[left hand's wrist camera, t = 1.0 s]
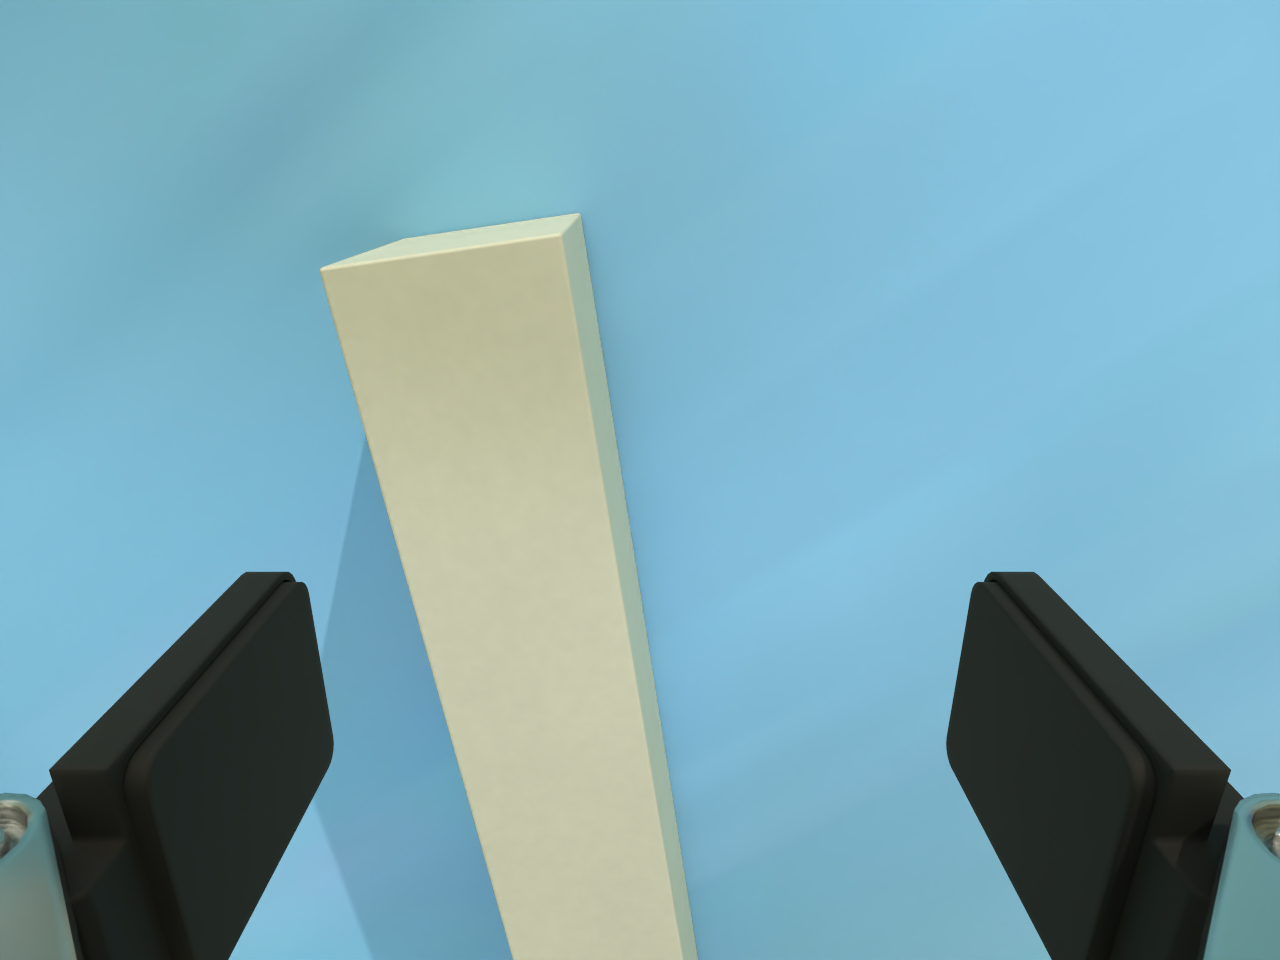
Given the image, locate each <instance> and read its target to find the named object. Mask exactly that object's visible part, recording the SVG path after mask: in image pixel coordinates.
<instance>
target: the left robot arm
mask: <svg viewBox="0 0 1280 960" xmlns="http://www.w3.org/2000/svg"><path fill="white" fill-rule="evenodd" d="M333 746H334V741H333V733H332V727H331V721H330V715H329V710H328V704H327V698H326V692H325V686H324V680H323V674H322V668H321V662H320V656H319V651H318V645H317V639H316V633H315V627H314V621H313V615H312V609H311V603H310V597H309V592H308V588H307V586H306V585H305V584H304V583H303V582H296V580H295V578H294V577H293V575H292V574H291V573H289V572H246V573H244V574H243V575H241V576H240V577H239V578H238V579H237V580H236V581H235V582H234V583H233V584H232V585H231V586H230V587H229V588H228V589H227V590H226V591H225V592H224V593H223V594H222V595H221V596H220V597H219V598H218V599H217V600H216V602H215V603H214V604H213V605H212V606H211V607H210V608H209V609H208V610H207V611H206V612H205V613H204V614H203V615H202V616H201V617H200V618H199V619H198V620H197V621H196V622H195V623H194V624H193V625H192V626H191V627H190V628H189V629H188V630H187V631H186V632H185V633H184V634H183V635H182V636H181V637H180V638H179V639H178V640H177V641H176V642H175V643H174V644H173V645H172V646H171V647H170V648H169V649H168V650H167V651H166V652H165V653H164V654H163V655H162V656H161V657H160V658H159V659H158V660H157V661H156V662H155V663H154V664H153V665H152V666H151V667H150V668H149V669H148V670H147V671H146V672H145V673H144V674H143V675H142V676H141V677H140V678H139V679H138V680H137V681H136V682H135V684H134V685H133V686H132V687H131V688H130V689H129V690H128V691H127V692H126V693H125V694H124V695H123V696H122V697H121V698H120V699H119V700H118V701H117V702H116V703H115V704H114V705H113V706H112V707H111V708H110V709H109V710H108V711H107V712H106V713H105V714H104V715H103V716H102V717H101V718H100V719H99V720H98V721H97V722H96V723H95V724H94V725H93V726H92V727H91V728H90V729H89V730H88V731H87V732H86V733H85V734H84V735H83V736H82V737H81V738H80V739H79V740H78V741H77V742H76V743H75V744H74V745H73V746H72V747H71V748H70V749H69V750H68V751H67V752H66V753H65V754H64V755H63V756H62V757H61V758H60V759H59V760H58V761H57V762H56V763H55V764H54V766H53V767H52V768H51V769H50V770H49V772H50V775H51V778H52V783H51V784H50V785H49V786H48V787H47V788H46V789H45V790H44V791H43V792H42V793H41V794H40V795H39V796H38V797H37V798H33V797H31V796H29V795H26V794H14V793H3V794H0V960H228V959H229V957H230V955H231V953H232V951H233V949H234V948H235V946H236V944H237V942H238V940H239V938H240V936H241V934H242V932H243V930H244V928H245V926H246V925H247V923H248V921H249V919H250V917H251V915H252V913H253V911H254V909H255V907H256V905H257V904H258V902H259V900H260V898H261V896H262V894H263V892H264V890H265V888H266V886H267V884H268V882H269V881H270V879H271V877H272V875H273V873H274V871H275V869H276V867H277V865H278V863H279V861H280V860H281V858H282V856H283V854H284V852H285V850H286V848H287V846H288V844H289V842H290V840H291V838H292V837H293V835H294V833H295V831H296V829H297V827H298V825H299V823H300V821H301V819H302V817H303V816H304V814H305V812H306V810H307V808H308V806H309V804H310V802H311V800H312V798H313V796H314V794H315V793H316V791H317V789H318V787H319V785H320V783H321V781H322V779H323V777H324V775H325V773H326V772H327V770H328V768H329V765H330V763H331V759H332V755H333ZM946 746H947V755H948V759H949V763H950V765H951V768H952V770H953V772H954V773H955V775H956V777H957V779H958V781H959V783H960V785H961V787H962V789H963V791H964V793H965V794H966V796H967V798H968V800H969V802H970V804H971V806H972V808H973V810H974V812H975V814H976V816H977V817H978V819H979V821H980V823H981V825H982V827H983V829H984V831H985V833H986V835H987V837H988V838H989V840H990V842H991V844H992V846H993V848H994V850H995V852H996V854H997V856H998V858H999V860H1000V861H1001V863H1002V865H1003V867H1004V869H1005V871H1006V873H1007V875H1008V877H1009V879H1010V881H1011V882H1012V884H1013V886H1014V888H1015V890H1016V892H1017V894H1018V896H1019V898H1020V900H1021V902H1022V904H1023V905H1024V907H1025V909H1026V911H1027V913H1028V915H1029V917H1030V919H1031V921H1032V923H1033V925H1034V926H1035V928H1036V930H1037V932H1038V934H1039V936H1040V938H1041V940H1042V942H1043V944H1044V946H1045V948H1046V949H1047V951H1048V953H1049V955H1050V957H1051V959H1052V960H1280V794H1277V793H1266V794H1254V795H1251V796H1249V797H1247V798H1243V797H1242V796H1241V795H1240V794H1239V793H1238V792H1237V791H1236V790H1235V789H1234V788H1233V787H1232V786H1231V785H1230V784H1229V783H1228V778H1229V775H1230V772H1231V770H1230V769H1229V768H1228V767H1227V766H1226V764H1225V763H1224V762H1223V761H1222V760H1221V759H1220V758H1219V757H1218V756H1217V755H1216V754H1215V753H1214V752H1213V751H1212V750H1211V749H1210V748H1209V747H1208V746H1207V745H1206V744H1205V743H1204V742H1203V741H1202V740H1201V739H1200V738H1199V737H1198V736H1197V735H1196V734H1195V733H1194V732H1193V731H1192V730H1191V729H1190V728H1189V727H1188V726H1187V725H1186V724H1185V723H1184V722H1183V721H1182V720H1181V719H1180V718H1179V717H1178V716H1177V715H1176V714H1175V713H1174V712H1173V711H1172V710H1171V709H1170V708H1169V707H1168V706H1167V705H1166V704H1165V703H1164V702H1163V701H1162V700H1161V699H1160V698H1159V697H1158V696H1157V695H1156V694H1155V693H1154V692H1153V691H1152V690H1151V689H1150V688H1149V687H1148V686H1147V685H1146V684H1145V682H1144V681H1143V680H1142V679H1141V678H1140V677H1139V676H1138V675H1137V674H1136V673H1135V672H1134V671H1133V670H1132V669H1131V668H1130V667H1129V666H1128V665H1127V664H1126V663H1125V662H1124V661H1123V660H1122V659H1121V658H1120V657H1119V656H1118V655H1117V654H1116V653H1115V652H1114V651H1113V650H1112V649H1111V648H1110V647H1109V646H1108V645H1107V644H1106V643H1105V642H1104V641H1103V640H1102V639H1101V638H1100V637H1099V636H1098V635H1097V634H1096V633H1095V632H1094V631H1093V630H1092V629H1091V628H1090V627H1089V626H1088V625H1087V624H1086V623H1085V622H1084V621H1083V620H1082V619H1081V618H1080V617H1079V616H1078V615H1077V614H1076V613H1075V612H1074V611H1073V610H1072V609H1071V608H1070V607H1069V606H1068V605H1067V604H1066V603H1065V602H1064V600H1063V599H1062V598H1061V597H1060V596H1059V595H1058V594H1057V593H1056V592H1055V591H1054V590H1053V589H1052V588H1051V587H1050V586H1049V585H1048V584H1047V583H1046V582H1045V581H1044V580H1043V579H1042V578H1041V577H1040V576H1039V575H1037V574H1036V573H1034V572H991V573H989V574H988V575H987V577H986V578H985V580H984V582H977V583H976V584H975V585H974V586H973V588H972V592H971V597H970V603H969V609H968V615H967V621H966V627H965V633H964V639H963V645H962V651H961V656H960V662H959V668H958V674H957V680H956V686H955V692H954V698H953V704H952V710H951V715H950V721H949V727H948V733H947V741H946Z"/></svg>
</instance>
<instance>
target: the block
mask: <svg viewBox="0 0 1280 960" xmlns="http://www.w3.org/2000/svg"><path fill="white" fill-rule="evenodd" d="M320 274H321V278H322V281H323V285H324V289H325V292H326V296H327V299H328V303H329V306H330V310H331V313H332V317H333V321H334V324H335V328H336V331H337V335H338V338H339V342H340V346H341V349H342V353H343V356H344V360H345V363H346V367H347V370H348V374H349V378H350V381H351V385H352V388H353V392H354V395H355V399H356V402H357V406H358V410H359V413H360V417H361V420H362V424H363V427H364V431H365V434H366V438H367V442H368V445H369V449H370V452H371V456H372V459H373V463H374V466H375V470H376V474H377V477H378V481H379V484H380V488H381V491H382V495H383V499H384V502H385V506H386V509H387V513H388V516H389V520H390V523H391V527H392V531H393V534H394V538H395V541H396V545H397V548H398V552H399V555H400V559H401V563H402V566H403V570H404V573H405V577H406V580H407V584H408V587H409V591H410V595H411V598H412V602H413V605H414V609H415V612H416V616H417V620H418V623H419V627H420V630H421V634H422V637H423V641H424V644H425V648H426V652H427V655H428V659H429V662H430V666H431V669H432V673H433V676H434V680H435V684H436V687H437V691H438V694H439V698H440V701H441V705H442V708H443V712H444V716H445V719H446V723H447V726H448V730H449V733H450V737H451V740H452V744H453V748H454V751H455V755H456V758H457V762H458V765H459V769H460V773H461V776H462V780H463V783H464V787H465V790H466V794H467V797H468V801H469V805H470V808H471V812H472V815H473V819H474V822H475V826H476V829H477V833H478V837H479V840H480V844H481V847H482V851H483V854H484V858H485V861H486V865H487V869H488V872H489V876H490V879H491V883H492V886H493V890H494V894H495V897H496V901H497V904H498V908H499V911H500V915H501V918H502V922H503V926H504V929H505V933H506V936H507V940H508V943H509V947H510V950H511V954H512V958H513V960H698V956H697V949H696V943H695V936H694V930H693V924H692V917H691V911H690V905H689V898H688V892H687V886H686V879H685V873H684V867H683V860H682V854H681V848H680V841H679V835H678V829H677V822H676V816H675V810H674V803H673V797H672V791H671V784H670V778H669V771H668V765H667V759H666V752H665V746H664V740H663V733H662V727H661V721H660V714H659V708H658V702H657V695H656V689H655V683H654V676H653V670H652V664H651V657H650V651H649V645H648V638H647V632H646V626H645V619H644V613H643V606H642V600H641V594H640V587H639V581H638V575H637V568H636V562H635V556H634V549H633V543H632V537H631V530H630V524H629V518H628V511H627V505H626V499H625V492H624V486H623V480H622V473H621V467H620V461H619V454H618V448H617V441H616V435H615V429H614V422H613V416H612V410H611V403H610V397H609V391H608V384H607V378H606V372H605V365H604V359H603V353H602V346H601V340H600V334H599V327H598V321H597V315H596V308H595V302H594V296H593V289H592V283H591V276H590V270H589V264H588V257H587V251H586V245H585V238H584V232H583V226H582V219H581V215H580V214H579V213H575V214H568V215H561V216H555V217H548V218H541V219H534V220H527V221H520V222H514V223H507V224H500V225H493V226H486V227H479V228H473V229H466V230H459V231H452V232H445V233H438V234H432V235H425V236H418V237H411V238H405V239H402V240H399V241H396V242H393V243H390V244H387V245H385V246H382V247H379V248H376V249H373V250H370V251H367V252H365V253H362V254H359V255H356V256H353V257H350V258H347V259H345V260H342V261H339V262H336V263H333V264H330V265H327V266H325V267H322V268H321V269H320Z"/></svg>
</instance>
